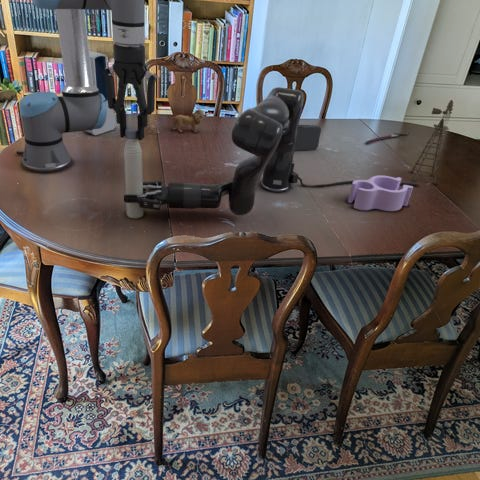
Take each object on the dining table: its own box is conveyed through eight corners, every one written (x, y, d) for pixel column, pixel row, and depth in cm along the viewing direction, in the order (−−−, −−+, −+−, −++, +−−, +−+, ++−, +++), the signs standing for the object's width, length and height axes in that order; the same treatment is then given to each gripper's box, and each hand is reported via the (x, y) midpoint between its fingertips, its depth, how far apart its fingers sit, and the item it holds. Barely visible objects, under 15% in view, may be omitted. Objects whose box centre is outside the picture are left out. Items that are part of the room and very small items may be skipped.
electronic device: (93, 136, 184) (86, 56, 167) (80, 131, 187) (72, 52, 170) (116, 128, 193) (112, 52, 177) (103, 124, 196) (97, 48, 180)
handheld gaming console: (315, 147, 196) (319, 124, 190) (317, 149, 194) (322, 126, 188) (264, 149, 189) (267, 125, 183) (266, 152, 187) (269, 127, 181)
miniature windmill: (435, 184, 175) (463, 105, 159) (412, 180, 176) (438, 101, 160) (432, 174, 182) (458, 98, 166) (410, 171, 183) (434, 94, 167)
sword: (404, 132, 223) (404, 129, 222) (409, 134, 221) (409, 132, 220) (360, 143, 207) (361, 141, 206) (365, 146, 205) (366, 143, 204)
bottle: (146, 212, 139) (144, 130, 125) (138, 219, 135) (136, 135, 121) (131, 208, 140) (128, 126, 126) (123, 216, 136) (119, 132, 122)
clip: (360, 214, 150) (365, 195, 146) (341, 196, 159) (346, 177, 156) (412, 209, 156) (418, 190, 152) (390, 192, 166) (396, 174, 162)
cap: (129, 140, 122) (129, 132, 121) (122, 135, 124) (121, 127, 123) (142, 137, 124) (142, 130, 123) (135, 133, 127) (134, 125, 125)
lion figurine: (201, 127, 203) (202, 107, 198) (204, 132, 199) (205, 111, 194) (168, 129, 198) (168, 108, 193) (170, 133, 194) (171, 112, 189)
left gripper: (88, 41, 109) (95, 137, 122) (158, 51, 108) (159, 146, 120) (101, 36, 116) (107, 127, 128) (168, 45, 114) (167, 137, 127)
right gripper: (184, 173, 140) (126, 171, 137) (185, 195, 128) (121, 194, 125) (184, 195, 144) (127, 194, 141) (184, 219, 132) (122, 218, 129)
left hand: (132, 136), depth 124 cm, fingers open, 4 cm apart
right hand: (125, 194), depth 133 cm, fingers closed on bottle, 5 cm apart
